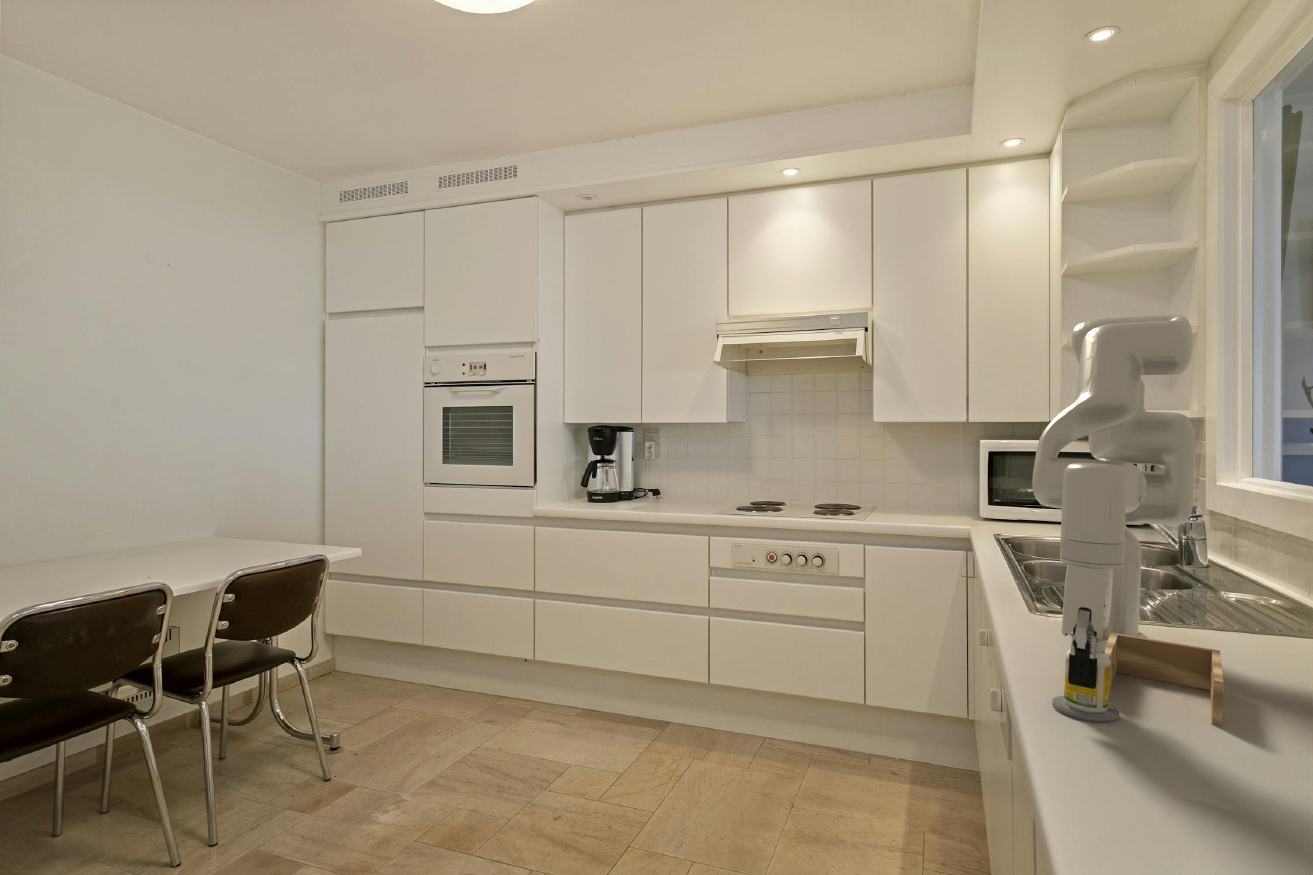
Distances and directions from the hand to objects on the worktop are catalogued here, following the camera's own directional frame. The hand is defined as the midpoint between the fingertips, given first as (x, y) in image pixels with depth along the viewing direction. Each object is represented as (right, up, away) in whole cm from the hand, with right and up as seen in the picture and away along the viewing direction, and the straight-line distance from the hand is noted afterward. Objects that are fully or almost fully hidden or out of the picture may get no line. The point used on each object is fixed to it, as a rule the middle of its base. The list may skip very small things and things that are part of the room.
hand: (1086, 675), depth 99 cm
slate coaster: (0, -5, 0) cm, 5 cm away
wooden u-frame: (+15, -5, +7) cm, 17 cm away
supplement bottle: (0, -5, 0) cm, 5 cm away
